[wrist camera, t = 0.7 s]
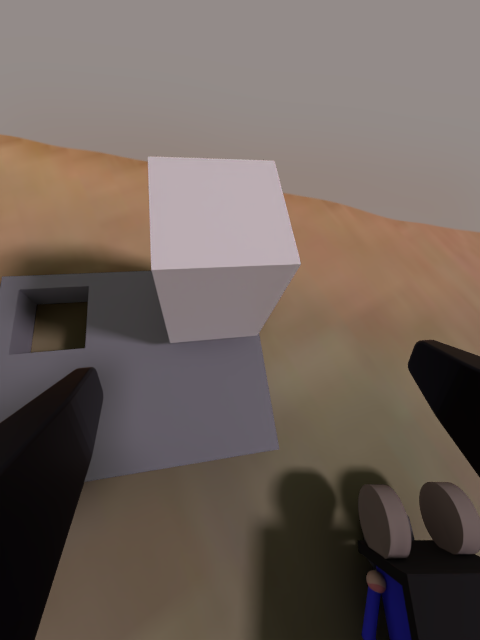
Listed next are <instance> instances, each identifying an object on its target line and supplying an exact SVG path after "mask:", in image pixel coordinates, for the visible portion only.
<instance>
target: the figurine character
mask: <svg viewBox="0 0 480 640" xmlns="http://www.w3.org/2000/svg"><path fill="white" fill-rule="evenodd" d="M419 503H420V510H421V515H422V518H423V521H424V524H425V526H426V528H427V530H428V532H429V534H430V536H431V537H432V539H433V540H414V536H413V532H412V528H411V524H410V520H409V517H408V515H407V514H406V511H405V509H404V506H403V504H402V502H401V500H400V498H399V497H398V495H397V494H396V492H395V491H394V490H393V489H392V488H391V487H389V486H388V485H372V484H366V485H363V486H362V488H361V489H360V492H359V498H358V510H359V518H360V523H361V528H362V531H363V534H364V540H358V549H359V552H360V553H361V554H362V555H363V556H365V557H366V558H367V559H368V560H369V562H370V563H371V565H372V567H373V568H374V570H371V571H369V572H368V573H367V576H366V580H367V584H368V592H367V599H366V606H365V613H364V621H363V628H362V637H363V640H376V630H377V621H378V613H379V604H380V596H381V595H382V600H383V605H384V611H385V616H386V622H387V627H388V632H389V638H390V640H480V557H479V556H477V555H475V553H477V552H478V551H479V550H480V519H479V516H478V513H477V511H476V509H475V507H474V505H473V504H472V502H471V500H470V499H469V498H468V496H467V495H466V494H465V493H464V492H463V491H462V490H461V489H460V488H459V487H458V486H456V485H454V484H452V483H448V482H427V483H425V484H424V485H423V486H422V488H421V491H420V496H419ZM375 568H377V571H376V570H375Z"/></svg>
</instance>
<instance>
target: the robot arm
mask: <svg viewBox="0 0 480 640" xmlns="http://www.w3.org/2000/svg"><path fill="white" fill-rule="evenodd" d="M408 369H409V371H410V373H411V375H412V377H413V378H414V380H415V382H416V383H417V385H418V387H419V389H420V390H421V392H422V394H423V395H424V397H425V399H426V400H427V402H428V404H429V406H430V407H431V409H432V411H433V412H434V414H435V415H436V417H437V418H438V420H439V421H440V423H441V424H442V426H443V427H444V428H445V430H446V431H447V432H448V434H449V435H450V437H451V438H452V439H453V441H454V442H455V444H456V445H457V446H458V448H459V449H460V451H461V452H462V453H463V455H464V456H465V458H466V459H467V460H468V462H469V463H470V465H471V466H472V467H473V469H474V470H475V472H476V473H477V474H478V476H479V477H480V356H477V355H475V354H472V353H469V352H466V351H463V350H460V349H458V348H455V347H452V346H449V345H446V344H443V343H441V342H438V341H435V340H421V341H418V342H417V343H416V344H415V346H414V349H413V351H412V354H411V356H410V359H409V362H408ZM102 404H103V389H102V386H101V383H100V380H99V376H98V373H97V371H96V369H95V368H93V367H85V368H77V369H75V370H73V371H72V372H71V373H69V374H68V375H66V376H65V377H64V378H62V379H61V380H59V381H58V382H57V383H55V384H54V385H52V386H51V387H50V388H48V389H47V390H45V391H44V392H43V393H41V394H40V395H38V396H37V397H36V398H34V399H33V400H31V401H30V402H29V403H27V404H26V405H24V406H23V407H22V408H20V409H19V410H17V411H16V412H15V413H13V414H12V415H10V416H9V417H8V418H6V419H5V420H3V421H2V422H1V423H0V640H35V637H36V634H37V631H38V628H39V624H40V621H41V618H42V615H43V612H44V608H45V605H46V602H47V599H48V596H49V593H50V589H51V586H52V583H53V580H54V577H55V573H56V570H57V567H58V564H59V561H60V558H61V554H62V551H63V548H64V545H65V542H66V538H67V535H68V532H69V529H70V526H71V523H72V519H73V516H74V513H75V510H76V507H77V504H78V500H79V497H80V494H81V491H82V488H83V484H84V481H85V478H86V475H87V472H88V469H89V465H90V462H91V458H92V454H93V450H94V445H95V440H96V435H97V430H98V424H99V419H100V414H101V409H102Z"/></svg>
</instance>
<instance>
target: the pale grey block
mask: <svg viewBox="0 0 480 640" xmlns="http://www.w3.org/2000/svg"><path fill="white" fill-rule="evenodd" d="M148 175H149V208H150V240H151V270H152V274H153V278H154V282H155V286H156V290H157V294H158V298H159V301H160V305H161V309H162V313H163V317H164V321H165V325H166V329H167V333H168V337H169V340H170V343H178V342H189V341H201V340H212V339H223V338H235V337H246V336H257V335H258V334H259V332H260V330H261V329H262V327H263V325H264V324H265V322H266V320H267V319H268V317H269V316H270V314H271V312H272V311H273V309H274V307H275V306H276V304H277V302H278V301H279V299H280V298H281V296H282V294H283V293H284V291H285V289H286V288H287V286H288V284H289V283H290V281H291V279H292V278H293V276H294V275H295V273H296V271H297V270H298V268H299V266H300V265H301V262H300V259H299V255H298V251H297V247H296V243H295V239H294V235H293V231H292V227H291V223H290V219H289V216H288V212H287V208H286V204H285V200H284V196H283V192H282V188H281V184H280V180H279V176H278V173H277V169H276V165H275V161H269V160H267V161H266V160H239V159H207V158H178V157H176V158H175V157H148Z"/></svg>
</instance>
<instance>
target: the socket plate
mask: <svg viewBox="0 0 480 640" xmlns="http://www.w3.org/2000/svg"><path fill="white" fill-rule="evenodd" d="M73 302H88V310H87V326H86V342H85V348H81V349H70V350H58V351H46V352H35V353H30V352H31V345H32V337H33V330H34V322H35V315H36V307H37V305H38V304H56V303H73ZM85 367H93V368H95V369H96V371H97V373H98V376H99V380H100V383H101V386H102V389H103V404H102V409H101V414H100V419H99V424H98V430H97V435H96V440H95V445H94V450H93V454H92V458H91V462H90V465H89V469H88V472H87V475H86V478H85V481H84V482H86V481H92V480H98V479H104V478H110V477H116V476H122V475H128V474H134V473H140V472H146V471H152V470H158V469H164V468H169V467H175V466H181V465H187V464H193V463H199V462H205V461H211V460H217V459H223V458H229V457H235V456H241V455H247V454H253V453H259V452H265V451H271V450H277V449H279V445H278V440H277V434H276V428H275V422H274V417H273V411H272V405H271V399H270V394H269V388H268V382H267V376H266V371H265V365H264V359H263V354H262V348H261V342H260V336H259V334H258V335H257V336H246V337H235V338H223V339H212V340H201V341H189V342H178V343H170V340H169V337H168V333H167V329H166V325H165V321H164V317H163V313H162V309H161V305H160V301H159V298H158V294H157V290H156V286H155V282H154V278H153V274H152V271H133V272H108V273H83V274H58V275H33V276H9V277H2V281H1V286H0V423H1V422H2V421H3V420H5V419H6V418H8V417H9V416H10V415H12V414H13V413H15V412H16V411H17V410H19V409H20V408H22V407H23V406H24V405H26V404H27V403H29V402H30V401H31V400H33V399H34V398H36V397H37V396H38V395H40V394H41V393H43V392H44V391H45V390H47V389H48V388H50V387H51V386H52V385H54V384H55V383H57V382H58V381H59V380H61V379H62V378H64V377H65V376H66V375H68V374H69V373H71V372H72V371H73V370H75V369H77V368H85Z"/></svg>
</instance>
